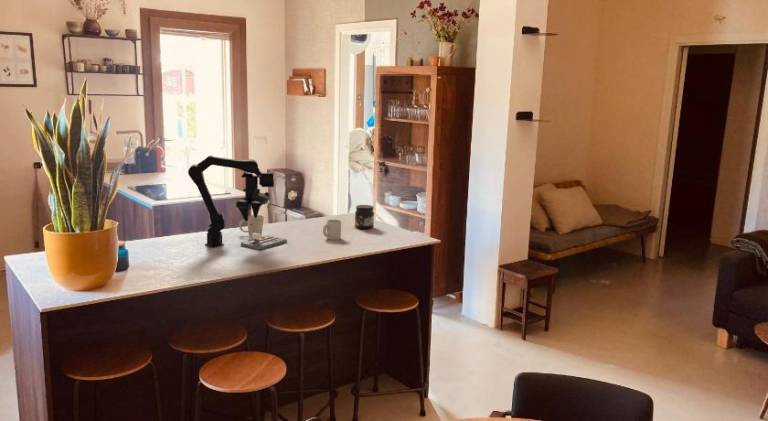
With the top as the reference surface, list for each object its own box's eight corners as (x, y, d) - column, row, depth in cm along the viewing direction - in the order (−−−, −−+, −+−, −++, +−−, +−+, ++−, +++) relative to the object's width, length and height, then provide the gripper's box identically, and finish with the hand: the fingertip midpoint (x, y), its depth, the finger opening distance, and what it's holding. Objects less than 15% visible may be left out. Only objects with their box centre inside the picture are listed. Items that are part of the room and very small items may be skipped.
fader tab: (258, 244, 284) (258, 234, 283) (251, 242, 287) (251, 233, 286) (261, 243, 286) (261, 233, 285) (254, 241, 288) (254, 232, 287)
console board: (259, 250, 280) (259, 245, 279) (240, 245, 286) (240, 241, 286) (286, 242, 296) (287, 238, 295) (268, 238, 302) (268, 234, 301)
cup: (343, 238, 307) (344, 221, 305) (326, 241, 301) (327, 223, 299) (335, 235, 313) (335, 219, 311) (319, 238, 306) (319, 221, 305)
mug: (261, 238, 300) (261, 219, 298) (236, 237, 301) (236, 217, 299) (265, 234, 309) (265, 215, 307) (240, 233, 309) (240, 214, 307)
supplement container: (353, 225, 337) (354, 204, 335) (371, 225, 339) (372, 204, 337) (355, 230, 327) (356, 208, 325) (375, 230, 329) (376, 208, 326)
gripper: (257, 191, 272) (257, 225, 275) (275, 185, 290) (275, 217, 293) (235, 189, 275) (235, 222, 278) (254, 183, 292) (254, 215, 296)
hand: (251, 219), depth 286 cm, fingers open, 9 cm apart
